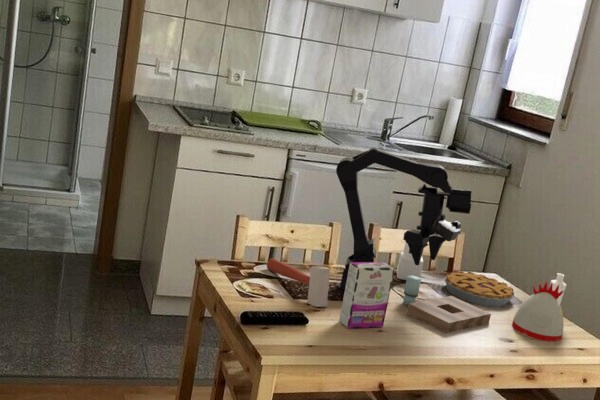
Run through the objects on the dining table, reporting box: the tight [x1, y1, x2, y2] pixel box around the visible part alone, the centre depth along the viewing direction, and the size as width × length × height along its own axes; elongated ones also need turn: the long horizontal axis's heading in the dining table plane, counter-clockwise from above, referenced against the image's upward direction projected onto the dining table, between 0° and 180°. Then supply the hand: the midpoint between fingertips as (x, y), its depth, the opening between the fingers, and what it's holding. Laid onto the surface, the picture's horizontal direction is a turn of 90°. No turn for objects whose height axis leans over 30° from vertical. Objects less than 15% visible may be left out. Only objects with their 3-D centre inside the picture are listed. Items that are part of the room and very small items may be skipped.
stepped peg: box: [402, 276, 422, 307], centre depth 219 cm, size 4×4×8 cm
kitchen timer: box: [511, 280, 565, 342], centre depth 215 cm, size 14×14×15 cm
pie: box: [444, 270, 516, 308], centre depth 240 cm, size 22×22×5 cm
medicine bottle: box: [396, 241, 424, 281], centre depth 244 cm, size 7×7×12 cm
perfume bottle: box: [549, 272, 567, 305], centre depth 226 cm, size 5×4×15 cm
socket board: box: [406, 295, 492, 334], centre depth 214 cm, size 20×14×3 cm
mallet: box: [266, 257, 331, 308], centre depth 216 cm, size 11×4×30 cm
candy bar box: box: [338, 261, 395, 330], centre depth 196 cm, size 11×5×16 cm, turn 117°
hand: (425, 262), depth 219 cm, fingers open, 9 cm apart
